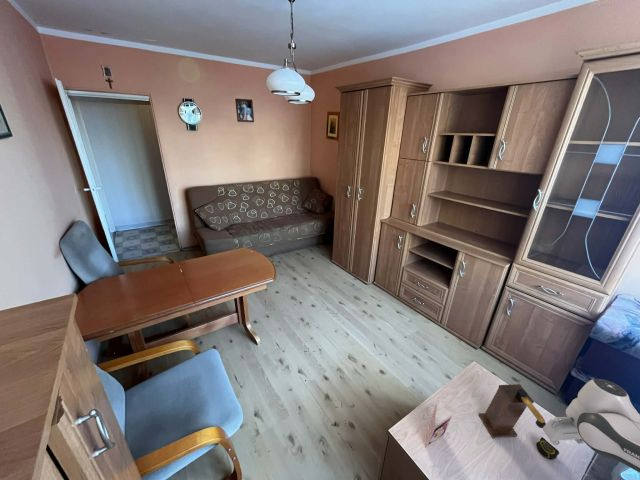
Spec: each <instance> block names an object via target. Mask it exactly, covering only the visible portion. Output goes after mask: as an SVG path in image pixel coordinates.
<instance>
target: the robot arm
mask: <svg viewBox="0 0 640 480" xmlns="http://www.w3.org/2000/svg"><path fill="white" fill-rule="evenodd" d="M565 415H566V416H555V417H553V418H551V419H550V420H549V421H548V422H546V425H545V426H544V427H543V428H542V431H543V433H544V434H545V435H546V437H547V438H548V439H549V442H550V444H551V445H552V446H558V445H559V444H560V443H561V442H560V441H572V440H574V441H575V442H576V443H577V444H583V443H585V445H586V446H588V447H589V448H590V449H591V450H592V451H593V452H594V453H596V454H597V455H599V456H601V457H605V458H607V459H611V460H615V461H617V462H619V463H621V464H623V465H625V466H627V467H628V468H630V469H632V470H634V471H636V472H637V473H639V474H640V413H639V412H638V411H637V409H636V408H635V406H634V405H633V403H632V402H631V399H630V396H629V394H628V393H627V391H626V390H625V389H623V388H622V387H621V386H620V385H618V384H616V383H615V382H612V381H610V380H607V379H603V378H593V379H591V380H588V381H587V382H586V383H585V384H584V385H583V386H582V387H581V389H580V390H579V391H578V393H577V397H575V398H574V399H572V400H571V402H570V404H569V405H567V408H566V409H565Z"/></svg>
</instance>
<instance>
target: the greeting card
mask: <svg viewBox="0 0 640 480" xmlns="http://www.w3.org/2000/svg"><path fill="white" fill-rule="evenodd" d="M437 406H438V404H437V403H436V405H435V407H434V410H433V412H432V415H431V417H430V418H429V419H430V420H429V422H428V427H427V434H426V441H425V448H428V447H429V446H431V445H432V444H433V443H435V442H436V441H438V440H439V439H440V438H442V437H443V436H444V435H445V433H446V431H447V428H448V426H449V424H450V423H451V420H452V418H453V415H450V416H449V417H447V418H446V419H445V420H442V421H441V422H440V423H438V424H437V425H435V422H436V415H437Z"/></svg>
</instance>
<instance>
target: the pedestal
mask: <svg viewBox="0 0 640 480" xmlns="http://www.w3.org/2000/svg"><path fill="white" fill-rule="evenodd" d="M519 389H523V390H525V389H524V387H523V386H522V385H521V384H520V383H518V384H517V383H516V384H499V385H498V388H497V390H496V391H495V394H494V395H493V397H492V399H491V400H490V403H489V404H488V407H487V408H486V410H485V412H482V413H481V412H480V413H479V414H478V417H479V419H480V421H481V422H482V424H483V426H484V428H485V429H486V431H487V433H488V434H489V436H490V437H491V439H503V438H517V437H518V433H517V431H516V430H515V429H514V427H515V426H516V425H517V423H518V421H519V420H520V418H521V416H522V415H523V413H524V412H525V410H526V409H527V408H528V407H527V406H526V404H525V403H524V402H523V401H521V400H519V399H518V398H517V397H516V393H517V391H518V390H519ZM527 398H528V399H529V400H530V402H531V403H532V404H534V403H535V401H534V399H532V397H531V396H530V395H529V394H528V395H527Z"/></svg>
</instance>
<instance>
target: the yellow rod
mask: <svg viewBox="0 0 640 480" xmlns="http://www.w3.org/2000/svg"><path fill="white" fill-rule="evenodd" d="M523 389H524V388H523ZM523 389H519V390H518V391H517V393H516V397H517V398H518V399H519V400H521V401H523V402H524V403H525V404H526V406H527V407H526V408H527V409H528V410H529V411H530V412H531V413H532V415H533V417H535V419H536V421H535V425H536V426H537V427H538V428H540V429H543V427H544V426H545V425H546V424H547V422H546V420H545V418H544V417H543V415H542V414H541V413H540V412H539V410H538V409H537V408H536V407H535V405H534V403H531V402H530V400H529V399H528V398H527V395H529V394H528V392H527V391H526V390H525V389H524V390H523Z"/></svg>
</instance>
